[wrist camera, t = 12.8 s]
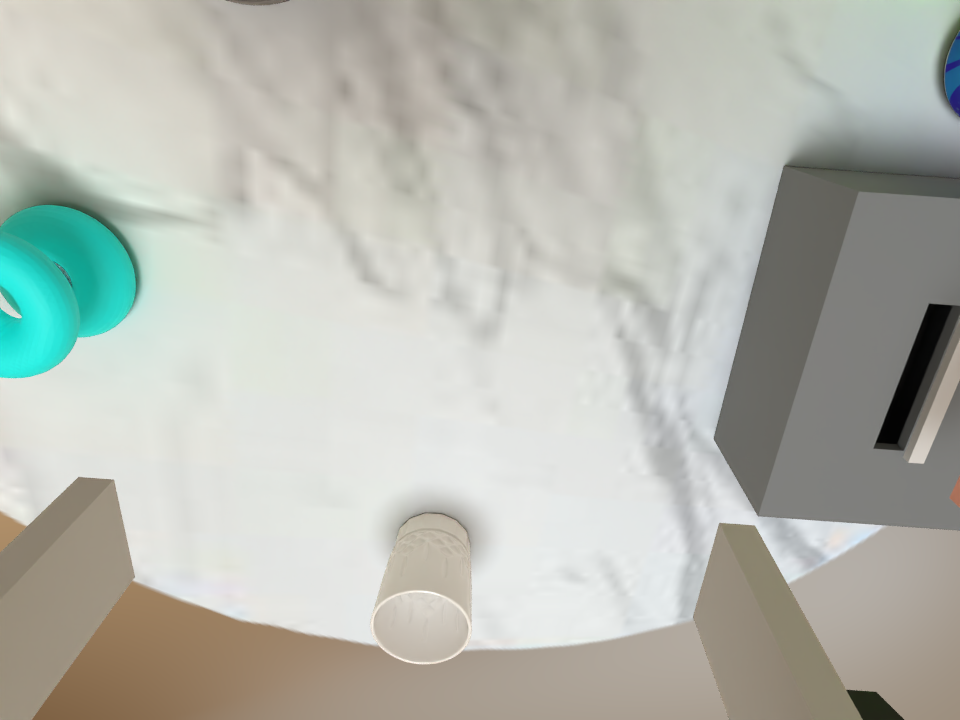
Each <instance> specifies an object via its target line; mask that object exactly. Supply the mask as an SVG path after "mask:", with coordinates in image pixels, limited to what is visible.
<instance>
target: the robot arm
mask: <svg viewBox="0 0 960 720" xmlns="http://www.w3.org/2000/svg"><path fill="white" fill-rule="evenodd" d="M227 1H230V2H235V3H240V4H246V5H271V4H278V3H282V2H286V1H289V0H227ZM134 577H135V575H134V571H133V566H132V561H131V557H130V552H129V547H128V543H127V538H126V534H125V529H124V524H123V520H122V515H121V510H120V506H119V501H118V497H117V492H116V487H115V483H114V480H111V479H97V478H83V477H78V478H77V479H76V480H75V481H74V482H73V483H72V484H71V485H70V486H69V487H68V488H67V489H66V490H65V491H64V492H63V493H62V494H61V495H60V496H58V497H57V498H56V499H55V500H54V501H53V502H52V503H51V504H50V505H49V506H48V507H47V508H46V509H45V510H44V511H43V512H42V513H41V514H40V515H39V516H38V517H37V518H36V519H35V520H34V521H33V522H31V523H30V524H29V525H28V526H27V527H26V528H25V529H24V530H23V531H22V532H21V533H20V534H19V535H18V536H17V537H16V538H15V539H14V540H13V541H12V542H11V543H10V544H9V545H8V546H7V547H6V548H5V549H3V551H1V552H0V720H32V718H33V717H34V715H35V714H36V713H37V711H38V710H39V709H40V707H41V706H42V705H43V703H44V702H45V700H46V699H47V698H48V696H49V695H50V694H51V692H52V691H53V689H54V688H55V687H56V685H57V684H58V682H59V681H60V680H61V678H62V677H63V676H64V674H65V673H66V671H67V670H68V669H69V667H70V666H71V664H72V663H73V662H74V660H75V659H76V658H77V656H78V655H79V653H80V652H81V651H82V649H83V648H84V646H85V645H86V644H87V642H88V641H89V640H90V638H91V637H92V635H93V634H94V633H95V631H96V630H97V628H98V627H99V626H100V624H101V623H102V622H103V620H104V619H105V617H106V616H107V615H108V613H109V612H110V610H111V609H112V608H113V606H114V605H115V604H116V602H117V601H118V599H119V598H120V597H121V595H122V594H123V593H124V591H125V590H126V588H127V587H128V586H129V584H130V583H131V581H132V580H133V579H134ZM693 618H694V621H695V624H696V627H697V629H698V632H699V635H700V638H701V641H702V644H703V646H704V649H705V652H706V655H707V658H708V660H709V664H710V666H711V669H712V672H713V675H714V678H715V680H716V684H717V686H718V689H719V692H720V695H721V698H722V701H723V704H724V706H725V709H726V712H727V715H728V718H729V720H904V719H903V718H902V717H901V716H900V715H899V714H898V713H897V712H896V711H895V710H894V709H893V708H892V707H891V706H890V705H889V704H888V703H887V702H886V701H885V700H884V699H883V698H882V697H881V696H880V695H879V694H877V692H869V691H855V690H846V689H845V687H844V685H843V683H842V682H841V680H840V678H839V676H838V674H837V673H836V671H835V669H834V667H833V665H832V664H831V662H830V660H829V658H828V656H827V655H826V653H825V651H824V649H823V647H822V646H821V644H820V642H819V640H818V639H817V637H816V635H815V633H814V631H813V629H812V628H811V626H810V624H809V622H808V620H807V619H806V617H805V615H804V613H803V611H802V610H801V608H800V606H799V604H798V603H797V601H796V599H795V597H794V595H793V594H792V592H791V590H790V588H789V586H788V585H787V583H786V581H785V579H784V577H783V576H782V574H781V572H780V570H779V568H778V567H777V565H776V563H775V561H774V559H773V558H772V556H771V554H770V552H769V550H768V549H767V547H766V545H765V543H764V541H763V540H762V538H761V536H760V534H759V532H758V531H757V529H756V527H755V526H754V525H740V524H726V523H719V526H718V530H717V533H716V537H715V540H714V544H713V547H712V551H711V555H710V558H709V562H708V565H707V569H706V573H705V576H704V580H703V583H702V587H701V590H700V594H699V598H698V601H697V605H696V608H695V612H694V615H693Z"/></svg>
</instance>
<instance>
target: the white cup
mask: <svg viewBox="0 0 960 720" xmlns="http://www.w3.org/2000/svg"><path fill="white" fill-rule="evenodd" d="M370 626H371V632H372V635H373V637H374V639H375V641H376V642H377V644H378V645H379V646H380V647H381V648H382V649H383V650H384V651H385V652H387V653H388V654H390V655H391V656H393V657H395V658H397V659H400V660H402V661H405V662H409V663H415V664H434V663H440V662H443V661H446V660H449V659H451V658H453V657H454V656H456V655H458V654H459V653H460V652H461V651H462V650H463V649H464V648H465V647H466V646H467V644H468V642H469V640H470V637H471V631H472V584H471V561H470V542H469V538H468V535H467V531H466V530H465V529H464V528H463V527H462V526H461V525H460V524H459V523H458V522H457V521H456V520H454V519H452V518H450V517H447V516H445V515H443V514H429V513H424V514H421V515H419V516H416V517H413V518H410V519H409V520H408V521H407V522H406V523H405V524H404V525H403V526H402V527H401V528H400V529H399V532H398V536H397V540H396V543H395V546H394V549H393V551H392V553H391V554H390V558H389V561H388V564H387V567H386V570H385V573H384V576H383V579H382V583H381V586H380V590H379V593H378V597H377V600H376V603H375V607H374V610H373V613H372V617H371V622H370Z"/></svg>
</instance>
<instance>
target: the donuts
mask: <svg viewBox="0 0 960 720" xmlns="http://www.w3.org/2000/svg"><path fill="white" fill-rule="evenodd" d="M54 262H55V263H57V264H59V265H60V266H61V267H62V268H64V270H65V271H66V272H67V273H68V275H69V277H70V279H71V282H72V287H71V285H70V283H69V282H68V280H67V278H66V277H65V275H64V274H63V273H62V271H61V270H60V269H59V268H58V266H57V265H56V264H55V263H54ZM0 292H1V293H2V295H3V296H4V298H5V299H6V301H7V302H8V303H9V304H10V305H11V307H12V308H13V309H14V310H15V311H16V312H17V313H18V314H20V315H21V316H22V318H20V319H19V318H15V317H12V316H10V315H8V314H6V313H5V312H4V311H3V310H1V308H0V377H2V378H25V377H31V376H34V375H38V374H41V373H44V372H46V371H48V370H50V369H52V368H53V367H55V366H56V365H58V364H59V363H60V362H62V361H63V360H64V359H65V358H66V356H67V355H68V354H69V353H70V351H71V350H72V348H73V346H74V344H75V342H76V339H77V337H90V336H95V335H98V334H102V333H104V332H107V331H109V330H110V329H112V328H114V327H115V326H116V325H118V324H119V323H120V322H121V321H122V320H123V319H124V318H125V317H126V315H127V314H128V312H129V310H130V309H131V307H132V304H133V302H134V298H135V292H136V279H135V273H134V268H133V265H132V262H131V260H130V257H129V255H128V253H127V252H126V250H125V248H124V247H123V245H122V244H121V242H120V241H119V240H118V239H117V237H116V236H115V235H114V234H113V233H112V232H111V231H110V230H109V229H108V228H106V227H105V226H104V225H103V224H101V223H100V222H99V221H97V220H96V219H94V218H92V217H90V216H89V215H87V214H85V213H83V212H80V211H78V210H75V209H72V208H68V207H64V206H56V205H39V206H34V207H30V208H26V209H23V210H21V211H19V212H17V213H15V214H14V215H12V216H11V217H10V218H8V219H7V220H6V221H5V222H4V223H3V224H2V225H1V227H0Z"/></svg>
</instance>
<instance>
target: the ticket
mask: <svg viewBox="0 0 960 720" xmlns="http://www.w3.org/2000/svg"><path fill="white" fill-rule="evenodd" d="M950 499H951V500H952V501H953V502H954V503H955V504H956V505H957V506H958V507H959V508H960V476H959V478H958V480H957V482H956V485H955V487H954V489H953V491H952V493H951V495H950Z"/></svg>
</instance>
